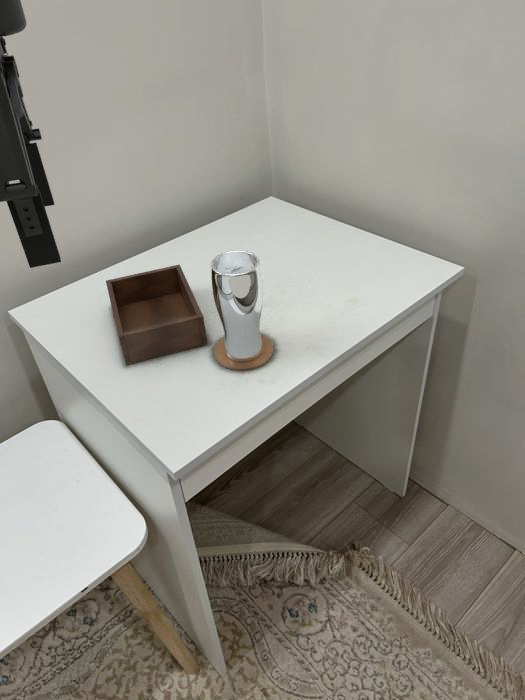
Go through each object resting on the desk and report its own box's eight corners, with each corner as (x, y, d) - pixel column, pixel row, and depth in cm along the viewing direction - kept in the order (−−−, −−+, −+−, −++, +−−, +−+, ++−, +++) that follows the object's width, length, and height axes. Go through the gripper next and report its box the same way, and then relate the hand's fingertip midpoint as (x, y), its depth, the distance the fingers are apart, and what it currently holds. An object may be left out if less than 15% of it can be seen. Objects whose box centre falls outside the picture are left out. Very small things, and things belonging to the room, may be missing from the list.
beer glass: (213, 344, 84) (200, 258, 74) (253, 329, 86) (246, 244, 76) (233, 369, 79) (222, 281, 69) (275, 353, 81) (270, 265, 72)
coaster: (223, 377, 78) (223, 375, 78) (207, 341, 85) (207, 339, 85) (282, 361, 80) (281, 359, 80) (262, 327, 87) (262, 325, 87)
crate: (126, 365, 82) (118, 337, 78) (113, 307, 94) (105, 280, 90) (207, 344, 84) (203, 316, 81) (184, 290, 97) (179, 264, 93)
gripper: (10, -16, 33) (93, 285, 46) (14, -37, 51) (73, 181, 65) (-129, -5, 31) (0, 304, 44) (-72, -31, 50) (6, 192, 63)
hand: (43, 232), depth 55 cm, fingers open, 13 cm apart
